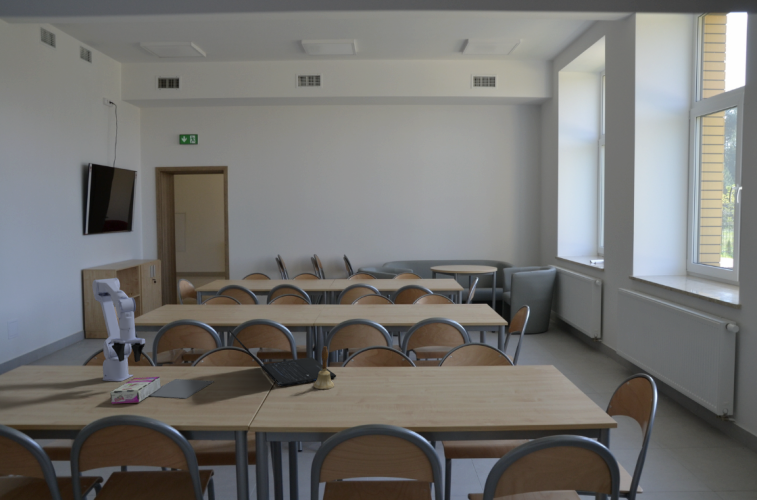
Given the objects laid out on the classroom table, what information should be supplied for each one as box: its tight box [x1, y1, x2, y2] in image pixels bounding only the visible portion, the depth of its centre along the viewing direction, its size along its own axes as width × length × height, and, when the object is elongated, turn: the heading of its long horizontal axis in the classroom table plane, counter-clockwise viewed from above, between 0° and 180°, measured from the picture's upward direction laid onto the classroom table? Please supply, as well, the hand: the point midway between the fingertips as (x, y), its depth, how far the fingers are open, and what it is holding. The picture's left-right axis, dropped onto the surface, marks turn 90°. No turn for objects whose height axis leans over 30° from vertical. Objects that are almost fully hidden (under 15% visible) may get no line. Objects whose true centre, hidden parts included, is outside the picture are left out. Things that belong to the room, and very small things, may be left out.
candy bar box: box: [109, 376, 162, 405], centre depth 207 cm, size 11×5×16 cm
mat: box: [148, 378, 215, 400], centre depth 215 cm, size 18×20×1 cm
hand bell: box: [312, 345, 335, 390], centre depth 212 cm, size 8×8×16 cm
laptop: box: [228, 329, 337, 388], centre depth 228 cm, size 33×38×19 cm
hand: (129, 361), depth 219 cm, fingers open, 7 cm apart
